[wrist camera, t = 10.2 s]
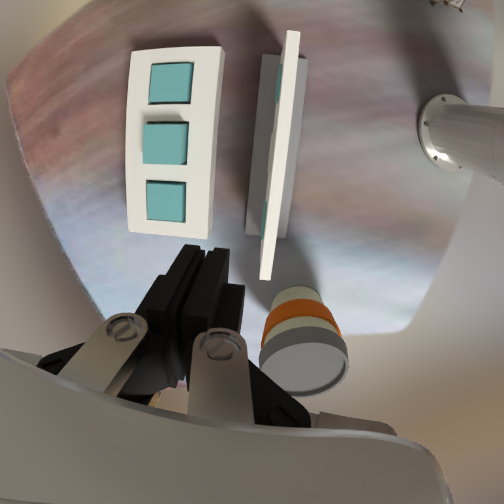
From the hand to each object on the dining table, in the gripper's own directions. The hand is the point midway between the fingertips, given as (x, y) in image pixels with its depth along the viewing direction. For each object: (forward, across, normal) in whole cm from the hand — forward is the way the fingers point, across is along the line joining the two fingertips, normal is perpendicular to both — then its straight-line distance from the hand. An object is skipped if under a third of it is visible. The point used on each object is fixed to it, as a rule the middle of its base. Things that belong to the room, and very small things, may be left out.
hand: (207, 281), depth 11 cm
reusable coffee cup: (+31, -10, +24) cm, 40 cm away
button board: (+31, +11, -2) cm, 33 cm away
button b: (+28, +11, -2) cm, 30 cm away
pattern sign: (+31, -2, -2) cm, 31 cm away
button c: (+29, +11, +6) cm, 32 cm away
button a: (+30, +11, -10) cm, 33 cm away
